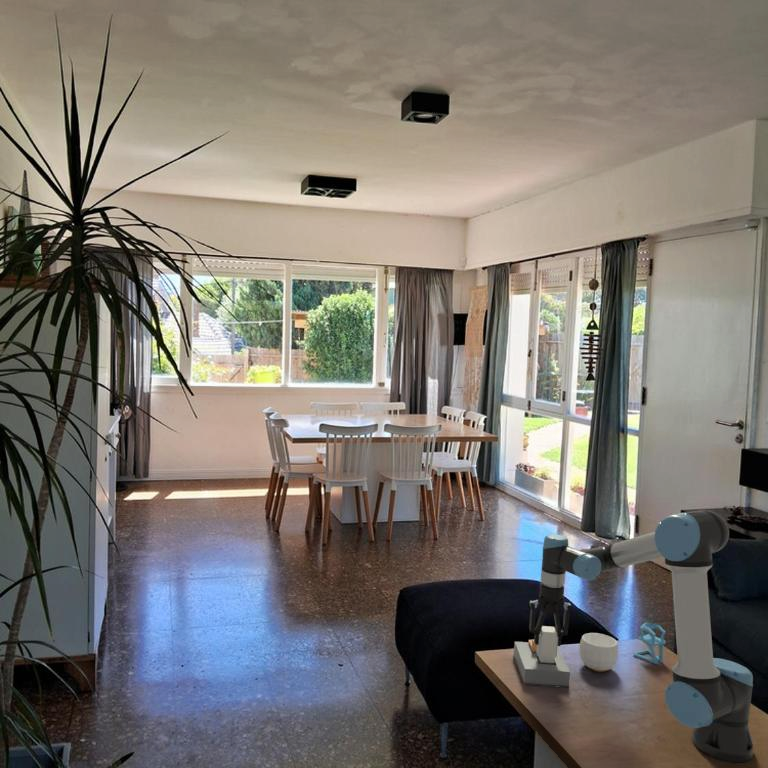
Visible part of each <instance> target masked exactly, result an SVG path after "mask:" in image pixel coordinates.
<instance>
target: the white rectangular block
mask: <svg viewBox="0 0 768 768" xmlns="http://www.w3.org/2000/svg"><path fill="white" fill-rule="evenodd" d="M540 633H541V635H542V641H541V653H540V656H538V662H539V664H548V665H553V663H555V652H556V640H557V632H556V627H555V626H550V625H549V626H546V625H543V626H542V629H541V632H540Z"/></svg>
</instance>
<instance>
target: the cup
mask: <svg viewBox="0 0 768 768" xmlns="http://www.w3.org/2000/svg"><path fill="white" fill-rule="evenodd" d="M579 655H580V659H581V661H582V662H583V664H584V665H585V666H586V667H588V668H589V669H590V670H591V669H592V671H593V670H594V672H597V673H603V672H606V671H609V670H611V669H612V668H614V667H615V665H616V663H617V660H618V659H619V658H618V657H619V656H618V655H619V645H618V641H617V640H616V639H615V638H614V637H612V636H610V635H606V634H604V633H598V632H589V633H584V634H583V635H581V639H580V642H579Z"/></svg>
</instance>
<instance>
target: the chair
mask: <svg viewBox="0 0 768 768" xmlns="http://www.w3.org/2000/svg"><path fill="white" fill-rule="evenodd" d="M653 629H658V630H660V632H661V635H660V637H657V636H656V633H655V632H654V631H653ZM639 630H640V636H637V640H639V641H640V642H641V641H642V643H644V644H645V645H646V646H647V647H648V649H643V650H641V651H637V652H634V653H633V657H635V658H638V659H640V660H643V661H647V662H649V663H651V664H654V665H659V663H661V664H663V663H664V655H663V654H664V653H663V652H664V645H665V644H666V642H667V641H666V640H665V639H664V637H665V634H666V630H664V629H663V628H662V626H661V625H659V624H656V623H653V622H644V623H643V624H642V625H640V628H639ZM644 631H645V632H647V633H648V634H645V635H644ZM656 646H658V655H656V654H655V650H654V647H656ZM644 654H649V655H650V656H651V657H652V658H651V657H647V656H644Z"/></svg>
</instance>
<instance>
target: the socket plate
mask: <svg viewBox="0 0 768 768" xmlns="http://www.w3.org/2000/svg"><path fill="white" fill-rule="evenodd" d="M528 642H529V641H528ZM528 642H527V641H525V642H524V641H514V646H513V658H514V661H515V665H516V666H517V669H518V672H519V674H520V678H521V680H522V683H523V685H527V686H540V685H545V686H546V687H555V686H559V687H558V688H570V678H571V677H570V676H571V671H570V669H569V667H568V664H567V663H566V662H565V658H564V657H563V655H562V654H561V651H560V649H559V648H558V647H559V646H558V647H557V657H555V663H553V665H548V664H539V662H538V655H537V652H532V650H531V647H530V645H529V643H528Z"/></svg>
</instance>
